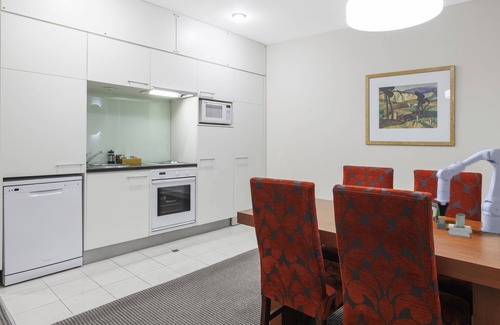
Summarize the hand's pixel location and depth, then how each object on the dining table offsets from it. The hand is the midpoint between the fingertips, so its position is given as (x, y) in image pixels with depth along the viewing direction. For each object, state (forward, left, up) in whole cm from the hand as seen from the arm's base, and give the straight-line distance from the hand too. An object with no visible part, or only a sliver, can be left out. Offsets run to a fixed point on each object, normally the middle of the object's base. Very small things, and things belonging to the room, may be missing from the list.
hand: (442, 216), depth 175 cm
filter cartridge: (-9, -3, -7) cm, 11 cm away
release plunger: (0, 0, -4) cm, 4 cm away
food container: (+2, -20, -7) cm, 21 cm away
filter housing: (-6, -3, -7) cm, 9 cm away
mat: (-8, +8, -7) cm, 13 cm away
